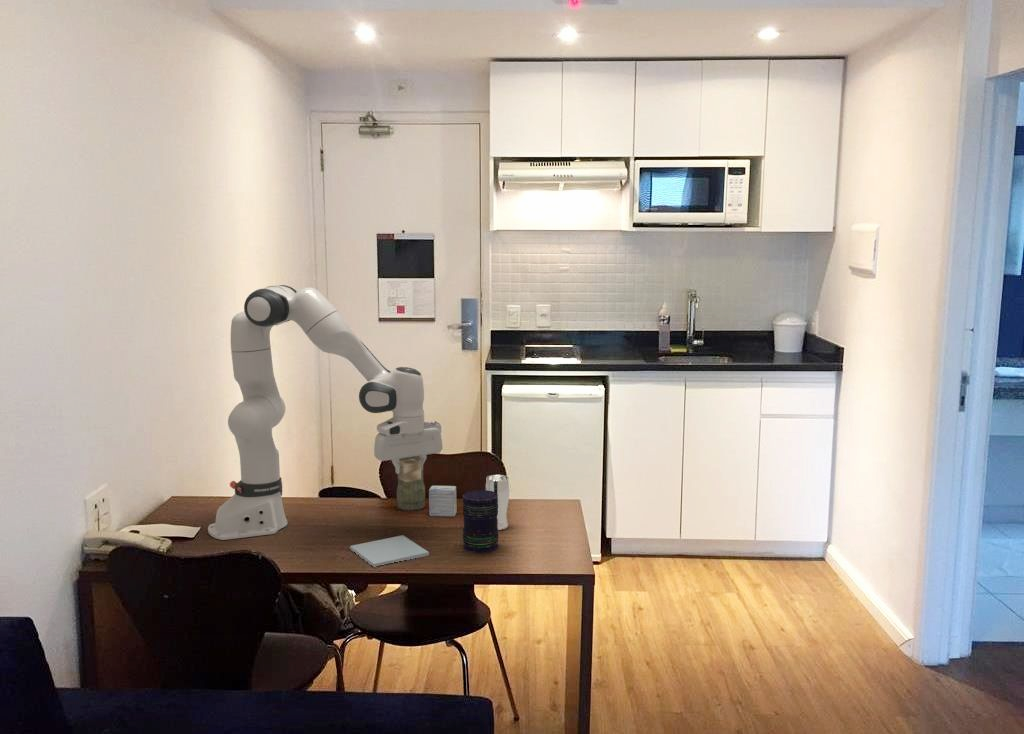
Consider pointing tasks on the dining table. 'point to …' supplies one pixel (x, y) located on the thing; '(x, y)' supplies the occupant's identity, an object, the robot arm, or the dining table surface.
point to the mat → (389, 550)
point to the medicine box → (442, 501)
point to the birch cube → (410, 470)
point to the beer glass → (500, 497)
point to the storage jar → (480, 521)
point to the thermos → (411, 492)
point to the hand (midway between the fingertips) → (409, 471)
